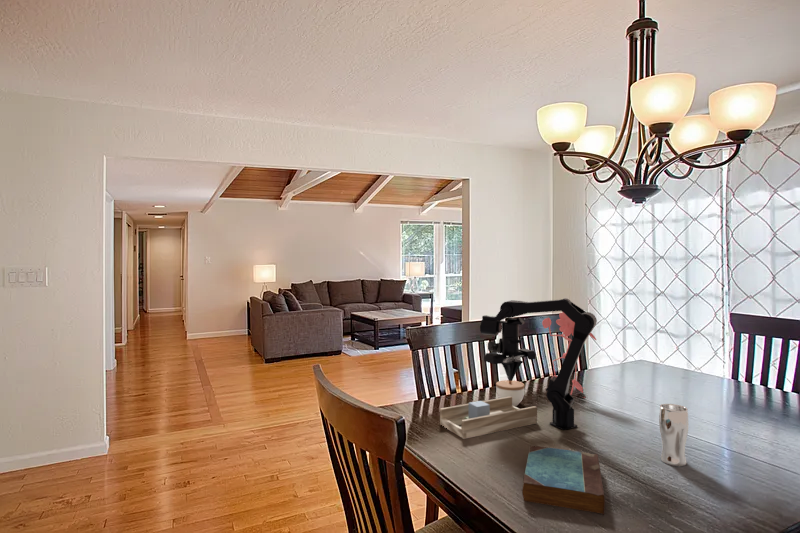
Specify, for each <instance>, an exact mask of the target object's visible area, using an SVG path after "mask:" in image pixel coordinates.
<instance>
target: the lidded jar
mask: <svg viewBox="0 0 800 533" xmlns="http://www.w3.org/2000/svg"><path fill="white" fill-rule="evenodd" d="M495 386H496V396H497V399H498V398H503V397H509V396H510V397H512V406H515V407H517V406H518V405H519V404H520V403H521V402H522V400H524V395H525V387H526V386H525V384H524V383H523V382H521V381H518V380H512V381H509V380H508V379H507V380H506V379H505V380H504V379H503V380H499V381H496V383H495Z"/></svg>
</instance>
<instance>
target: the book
mask: <svg viewBox="0 0 800 533" xmlns="http://www.w3.org/2000/svg"><path fill="white" fill-rule="evenodd" d="M524 470H525V471H524V476H523V481H522V483H523V485H522V488H521V489H522V490H521V491H522V492H521V493H522V497H523V501H524V502H529V503H536V504H541V505H548V506H552V507H559V508H566V509H572V510H578V511H585V512H591V513H597V514H602V515H603V516H605V512H606V511H605V510H606V509H605V507H606V497H605V491H604V486H603V485H604V484H603V479H602V473H601V466H600V460H599V455H598V453H589V452H585V451H584V452H583V451H579V450H569V449H562V448H556V447H547V446H545V447H544V446H538V445H529V451H528V456H527V460H526V465H525V469H524Z"/></svg>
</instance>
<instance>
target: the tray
mask: <svg viewBox="0 0 800 533" xmlns="http://www.w3.org/2000/svg"><path fill="white" fill-rule="evenodd" d="M482 401H483V402H485V403H487V404H489V405H490V415H486V416H480V417H475V418H469V403H463V404H457V405H453V406H448V407H441V408H440V407H439V425H440V426H441V425H442V427H443V426H444V427H443V428H444V429H446V428H447V429H446V430H448V431H450V432H451V433H453V434H455V435H456V436H458V437H460V438H461V439H463V440H465V439H470V438H474V437H475V438H476V437H479V436H484V435H487V434H488V435H489V434H493V433H497V432H502V431H503V432H504V431H507V430H511V429H516V428H520V427H526V426H531V425H535V424H537V423H538V407H537V406H536V405H534V406H529V407H524V408H519V407H517V406H512V397H510V396H509V397H503V398H498V397H497V398H494V399H493V398H492V399H487V400H482Z"/></svg>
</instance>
